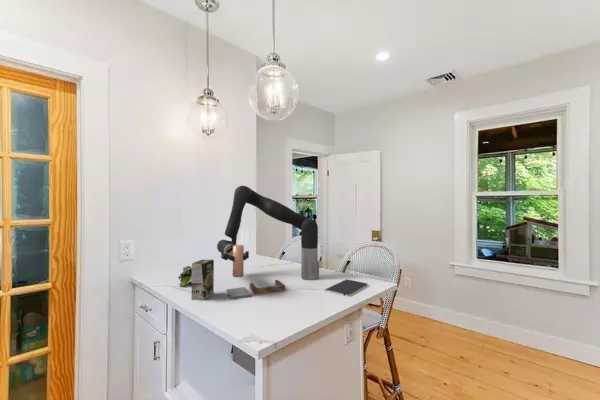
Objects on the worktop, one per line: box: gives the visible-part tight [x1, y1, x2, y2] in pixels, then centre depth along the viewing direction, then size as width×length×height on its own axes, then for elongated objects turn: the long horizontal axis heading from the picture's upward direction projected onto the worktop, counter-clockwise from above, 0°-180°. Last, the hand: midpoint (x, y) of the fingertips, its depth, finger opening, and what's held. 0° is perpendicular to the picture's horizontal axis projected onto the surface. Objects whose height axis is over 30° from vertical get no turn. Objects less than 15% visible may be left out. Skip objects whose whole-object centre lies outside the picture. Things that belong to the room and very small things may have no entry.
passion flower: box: [177, 265, 192, 288], centre depth 150 cm, size 11×11×12 cm
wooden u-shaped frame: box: [249, 279, 286, 295], centre depth 142 cm, size 15×10×2 cm
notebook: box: [325, 279, 368, 297], centre depth 144 cm, size 13×2×21 cm
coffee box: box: [191, 259, 215, 301], centre depth 131 cm, size 9×6×16 cm
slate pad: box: [225, 286, 252, 300], centre depth 135 cm, size 9×12×1 cm
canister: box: [232, 244, 245, 278], centre depth 134 cm, size 5×5×14 cm
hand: (239, 258), depth 132 cm, fingers closed on canister, 5 cm apart
